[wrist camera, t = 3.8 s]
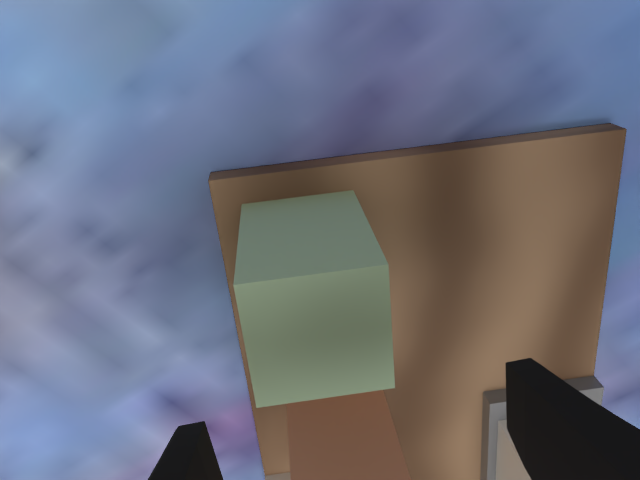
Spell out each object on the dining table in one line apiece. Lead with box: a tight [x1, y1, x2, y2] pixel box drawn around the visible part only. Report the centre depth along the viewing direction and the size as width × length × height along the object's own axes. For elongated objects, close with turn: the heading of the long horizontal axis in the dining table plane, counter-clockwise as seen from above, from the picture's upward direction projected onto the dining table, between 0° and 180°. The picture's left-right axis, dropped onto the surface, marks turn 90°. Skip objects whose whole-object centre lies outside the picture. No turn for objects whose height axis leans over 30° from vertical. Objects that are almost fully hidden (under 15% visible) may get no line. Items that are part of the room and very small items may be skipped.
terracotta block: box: [286, 390, 411, 480], centre depth 21 cm, size 4×4×6 cm
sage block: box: [233, 190, 395, 408], centre depth 17 cm, size 4×4×6 cm
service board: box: [208, 123, 627, 480], centre depth 24 cm, size 15×23×1 cm, turn 6°
